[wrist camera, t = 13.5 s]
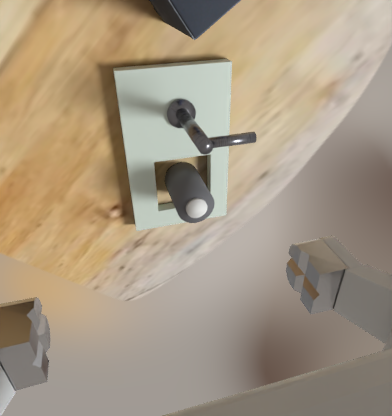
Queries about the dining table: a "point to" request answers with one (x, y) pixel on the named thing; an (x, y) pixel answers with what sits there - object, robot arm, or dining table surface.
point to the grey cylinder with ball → (189, 192)
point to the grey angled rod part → (184, 118)
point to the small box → (192, 14)
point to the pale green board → (172, 129)
